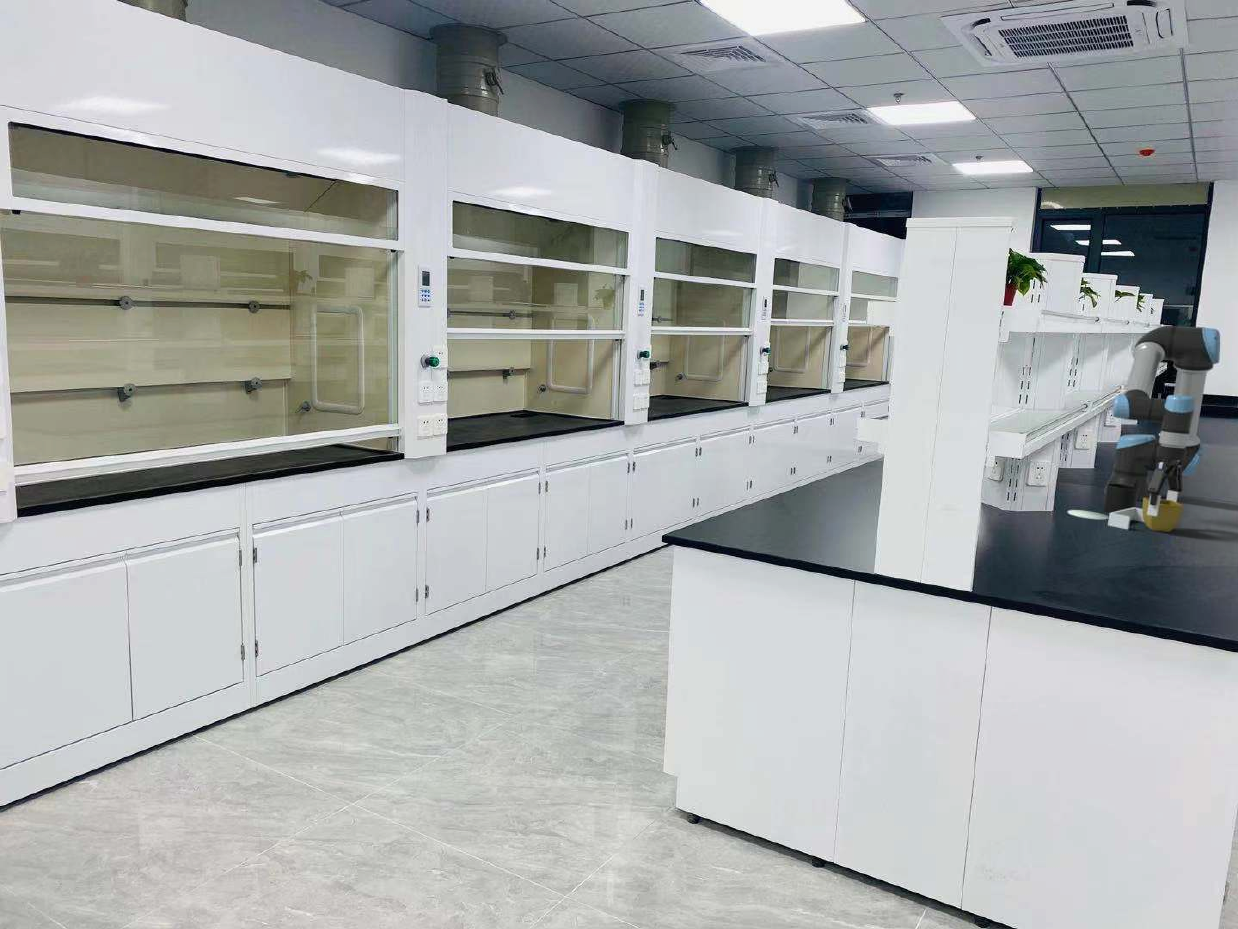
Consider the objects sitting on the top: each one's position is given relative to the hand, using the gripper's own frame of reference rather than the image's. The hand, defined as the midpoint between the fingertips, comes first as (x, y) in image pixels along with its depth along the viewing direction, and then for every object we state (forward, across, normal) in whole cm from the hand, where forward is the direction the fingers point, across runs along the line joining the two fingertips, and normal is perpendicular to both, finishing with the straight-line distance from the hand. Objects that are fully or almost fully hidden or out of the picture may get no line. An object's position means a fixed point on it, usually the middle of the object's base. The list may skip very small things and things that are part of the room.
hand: (1160, 513), depth 276 cm
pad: (+5, +1, -21) cm, 22 cm away
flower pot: (+6, 0, 0) cm, 6 cm away
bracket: (+5, +1, -8) cm, 10 cm away
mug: (+5, -16, -18) cm, 25 cm away
